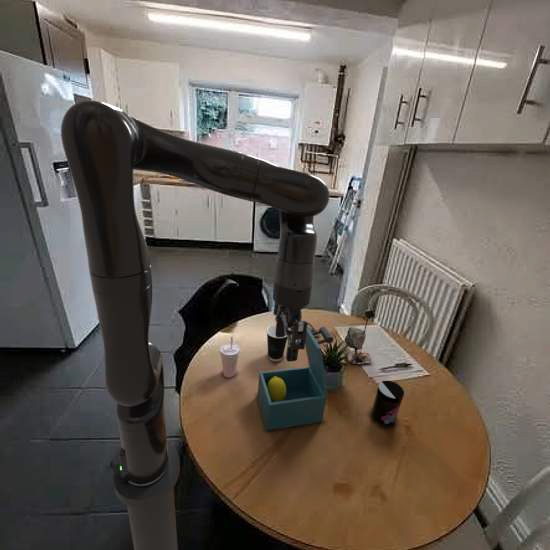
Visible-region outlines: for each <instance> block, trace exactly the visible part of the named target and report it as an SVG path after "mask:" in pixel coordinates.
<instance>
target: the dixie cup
mask: <svg viewBox="0 0 550 550" xmlns="http://www.w3.org/2000/svg"><path fill="white" fill-rule="evenodd" d="M265 332H266V338H267V339H266V341H267V343H266V344H267V356H268V359H269V360H270V361H272V362H280V361H281V360H282V359H283V357H284V355H285V349H286V347H287V343H288V342H287V336H286V335H285V336H284V337H276V335H275V332H276V324H271V325H269V326H268V327H266V331H265Z"/></svg>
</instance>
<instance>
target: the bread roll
mask: <svg viewBox="0 0 550 550" xmlns="http://www.w3.org/2000/svg"><path fill="white" fill-rule="evenodd" d="M307 327H308V328H309V330H310V331H311V333H312V332H315V331H316V330H315V328H314V327H313V325H312V324H311V323H310V322H307ZM319 337H320V334H317V335H314V338H319Z"/></svg>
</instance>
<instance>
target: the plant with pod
mask: <svg viewBox="0 0 550 550" xmlns="http://www.w3.org/2000/svg"><path fill="white" fill-rule="evenodd" d="M364 314H365V318H366V321H365V325H364V330H363V329H361V328H358V327H355V326H351V324H349V326H350V327H348V329H347V332H346V336H345V337H344V343H345V346H344V347H343V348H342V349H341V351H342V350H343V352H344V351H345V350H346V349H347V348H350V349H354V350H352V351H347V352H346V359H347V360H348V361H347V362H348V363H351V364H354V365H356V364H357V365H361V364H367V363H368V364H371V363H372V358H371V356H370V354H369V353H368V352H365V351H363V350H362V349H363V347H364V344H365V341H366V338H367V337H366V336H367V335H366V330H367V326H368V325H367V324H368V323H369V322H368V321H369V320H370V319H372V318H373V319H374V320H376V317H375V316H376V313H375V310H374V308H369V309H366V310H365V311H364Z"/></svg>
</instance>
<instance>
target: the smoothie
mask: <svg viewBox="0 0 550 550" xmlns="http://www.w3.org/2000/svg"><path fill="white" fill-rule="evenodd" d="M219 354H220V358H221V366H222V372H223V373H222V374H223V376H224V377H225V378H229V379H230V378H233V377H235V375H236V371H237V367H238V366H237V365H238V359H239V355H240V354H241V347H240V345H238V344H236V343H234V336H233V335H231V336H230V342H227V343H224V344H222V345H221V346H220V348H219Z"/></svg>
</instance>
